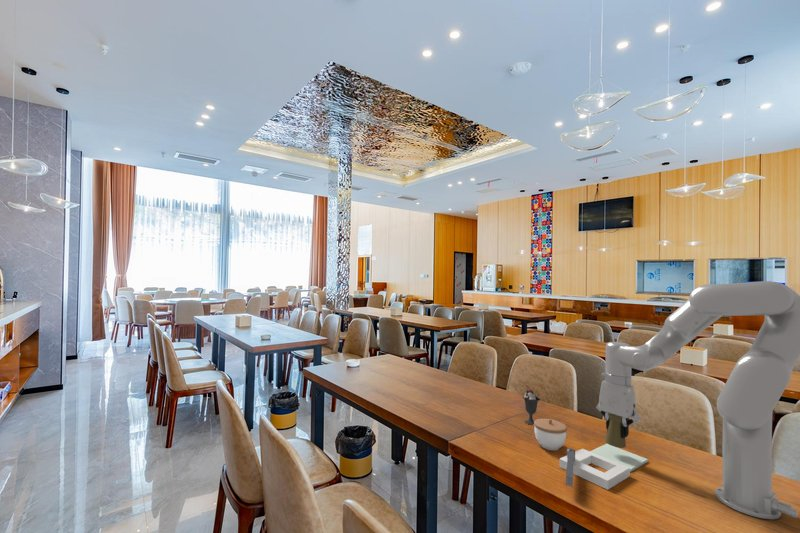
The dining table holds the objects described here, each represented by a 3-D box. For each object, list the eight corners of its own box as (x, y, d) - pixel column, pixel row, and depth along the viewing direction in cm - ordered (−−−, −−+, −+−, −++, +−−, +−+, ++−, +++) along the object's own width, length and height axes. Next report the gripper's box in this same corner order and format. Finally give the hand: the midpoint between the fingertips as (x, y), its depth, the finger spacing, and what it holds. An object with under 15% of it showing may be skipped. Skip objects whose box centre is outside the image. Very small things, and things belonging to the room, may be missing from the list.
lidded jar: (532, 449, 124) (532, 421, 124) (534, 437, 134) (535, 411, 134) (566, 456, 119) (567, 427, 120) (566, 443, 129) (566, 417, 130)
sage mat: (647, 461, 118) (647, 459, 118) (629, 472, 110) (629, 469, 110) (606, 445, 128) (606, 443, 128) (587, 454, 121) (587, 452, 121)
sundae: (518, 420, 150) (519, 384, 151) (532, 418, 152) (532, 383, 153) (528, 426, 144) (529, 388, 144) (542, 424, 146) (543, 387, 146)
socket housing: (629, 476, 108) (629, 467, 108) (607, 489, 100) (607, 480, 101) (582, 456, 120) (582, 447, 120) (559, 466, 112) (559, 458, 112)
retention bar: (574, 487, 96) (574, 478, 96) (564, 484, 97) (564, 475, 97) (575, 456, 113) (575, 449, 113) (566, 455, 114) (567, 447, 114)
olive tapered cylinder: (629, 449, 117) (631, 415, 117) (608, 446, 118) (610, 412, 118) (621, 440, 122) (623, 408, 122) (602, 437, 124) (604, 406, 124)
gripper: (587, 374, 125) (586, 428, 125) (640, 387, 111) (639, 447, 111) (598, 372, 129) (597, 423, 129) (650, 384, 116) (650, 442, 115)
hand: (617, 434), depth 120 cm, fingers closed on olive tapered cylinder, 3 cm apart
